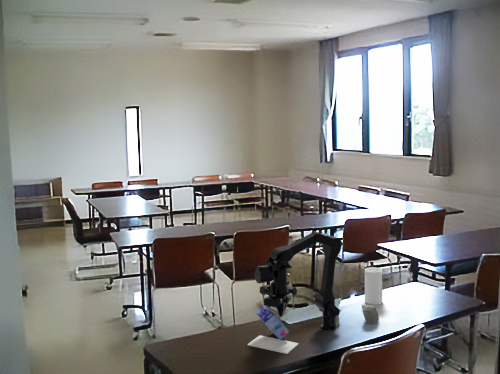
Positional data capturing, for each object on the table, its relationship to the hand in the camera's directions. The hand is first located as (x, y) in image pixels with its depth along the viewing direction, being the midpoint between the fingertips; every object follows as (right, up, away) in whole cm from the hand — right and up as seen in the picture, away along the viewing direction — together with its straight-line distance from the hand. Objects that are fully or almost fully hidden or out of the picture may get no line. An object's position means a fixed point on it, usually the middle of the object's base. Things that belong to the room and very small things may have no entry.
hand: (281, 316), depth 219 cm
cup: (+47, -3, +39) cm, 61 cm away
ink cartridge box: (+1, -7, +2) cm, 7 cm away
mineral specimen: (+40, -6, +14) cm, 42 cm away
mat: (-4, -10, -5) cm, 12 cm away
